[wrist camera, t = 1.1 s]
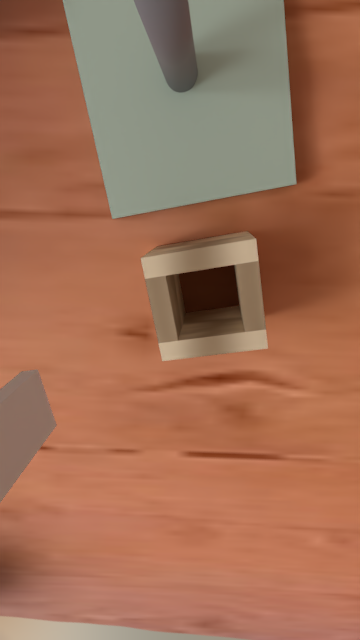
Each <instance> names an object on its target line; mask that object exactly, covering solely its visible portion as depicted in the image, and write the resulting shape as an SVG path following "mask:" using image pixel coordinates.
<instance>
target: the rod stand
mask: <svg viewBox="0 0 360 640" xmlns="http://www.w3.org/2000/svg"><path fill="white" fill-rule="evenodd" d="M63 4H64V9H65V13H66V18H67V22H68V26H69V31H70V35H71V39H72V44H73V48H74V53H75V57H76V61H77V66H78V70H79V75H80V79H81V83H82V88H83V92H84V97H85V101H86V105H87V110H88V114H89V118H90V123H91V127H92V132H93V136H94V140H95V145H96V149H97V154H98V158H99V162H100V167H101V171H102V176H103V180H104V184H105V189H106V193H107V197H108V202H109V206H110V211H111V215H112V219H115V218H121V217H126V216H131V215H137V214H142V213H147V212H153V211H158V210H163V209H168V208H174V207H179V206H184V205H190V204H195V203H200V202H206V201H211V200H216V199H221V198H227V197H232V196H237V195H243V194H248V193H253V192H258V191H264V190H269V189H274V188H280V187H285V186H290V185H295V184H296V170H295V156H294V141H293V127H292V113H291V98H290V84H289V70H288V55H287V41H286V26H285V12H284V0H63Z"/></svg>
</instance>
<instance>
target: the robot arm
mask: <svg viewBox="0 0 360 640" xmlns="http://www.w3.org/2000/svg"><path fill="white" fill-rule="evenodd" d="M55 427H56V422H55V419H54V416H53V413H52V410H51V407H50V404H49V401H48V398H47V395H46V392H45V389H44V387H43V384H42V381H41V378H40V375H39V372H38V370H30V371H22V372H20V373H19V374H18V375H17V376H15V377H14V378H13V379H12V380H11V381H10V382H8V383H7V384H6V385H5V386H4V387H3V388H1V389H0V502H1V501H2V500H3V498H4V497H5V495H6V494H7V493H8V491H9V490H10V489H11V487H12V486H13V484H14V483H15V482H16V480H17V479H18V478H19V476H20V475H21V473H22V472H23V471H24V469H25V468H26V467H27V465H28V464H29V462H30V461H31V460H32V458H33V457H34V456H35V454H36V453H37V451H38V450H39V449H40V447H41V446H42V445H43V443H44V442H45V441H46V439H47V438H48V436H49V435H50V434H51V432H52V431H53V430H54V428H55Z"/></svg>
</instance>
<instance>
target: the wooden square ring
mask: <svg viewBox="0 0 360 640" xmlns="http://www.w3.org/2000/svg"><path fill="white" fill-rule="evenodd" d="M141 262H142V267H143V272H144V276H145V281H146V286H147V291H148V295H149V300H150V305H151V310H152V314H153V319H154V324H155V329H156V333H157V338H158V343H159V348H160V352H161V357H162V361H168V360H176V359H184V358H192V357H201V356H209V355H217V354H226V353H234V352H242V351H250V350H259V349H267V348H268V344H267V334H266V325H265V316H264V306H263V297H262V288H261V279H260V269H259V260H258V251H257V241H256V238H255V237H254V236H252V235H251V234H250V233H249V232H248V231H244V232H239V233H233V234H227V235H221V236H215V237H210V238H204V239H198V240H192V241H186V242H181V243H175V244H169V245H163V246H157V247H156V248H154V249H153V250H151V251H150V252H149V253H147V254H146V255H144V256H143V257H142V258H141ZM230 265H234V271H235V279H236V286H237V294H238V302H239V306H232V307H224V308H217V309H210V310H203V311H196V312H189V313H186V312H185V306H184V300H183V295H182V289H181V284H180V278H179V274H180V273H186V272H192V271H198V270H205V269H211V268H217V267H224V266H230Z"/></svg>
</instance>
